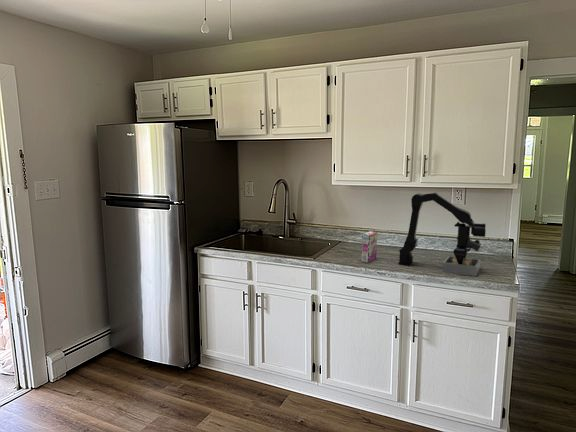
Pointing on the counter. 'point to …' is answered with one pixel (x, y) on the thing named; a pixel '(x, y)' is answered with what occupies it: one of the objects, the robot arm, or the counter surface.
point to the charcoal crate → (461, 267)
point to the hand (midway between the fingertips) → (461, 264)
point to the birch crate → (465, 261)
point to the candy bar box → (369, 247)
